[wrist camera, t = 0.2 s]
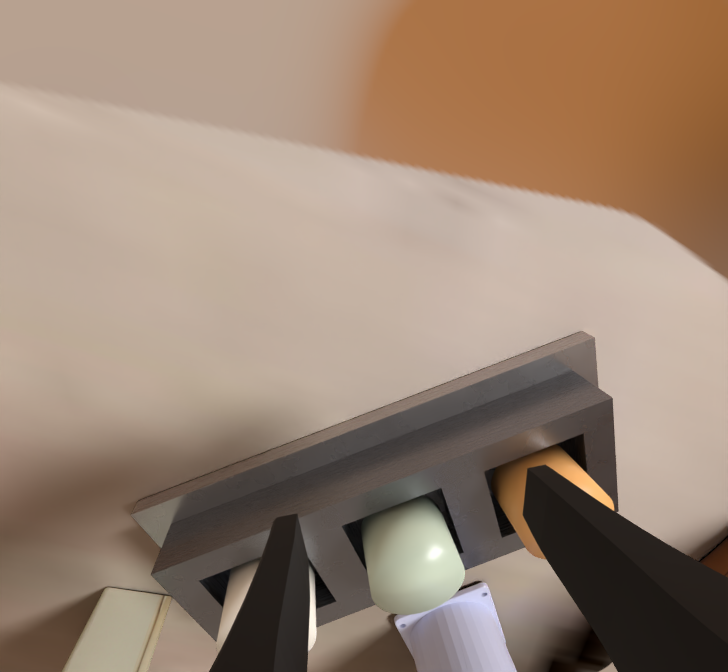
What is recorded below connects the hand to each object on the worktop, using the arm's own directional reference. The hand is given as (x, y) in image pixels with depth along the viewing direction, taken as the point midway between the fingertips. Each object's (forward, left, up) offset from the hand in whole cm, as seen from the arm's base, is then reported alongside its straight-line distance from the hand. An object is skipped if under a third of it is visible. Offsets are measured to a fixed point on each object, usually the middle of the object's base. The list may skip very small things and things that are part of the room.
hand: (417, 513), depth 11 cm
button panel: (-9, +1, -10) cm, 13 cm away
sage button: (-9, +1, -7) cm, 11 cm away
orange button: (-9, -7, -7) cm, 13 cm away
